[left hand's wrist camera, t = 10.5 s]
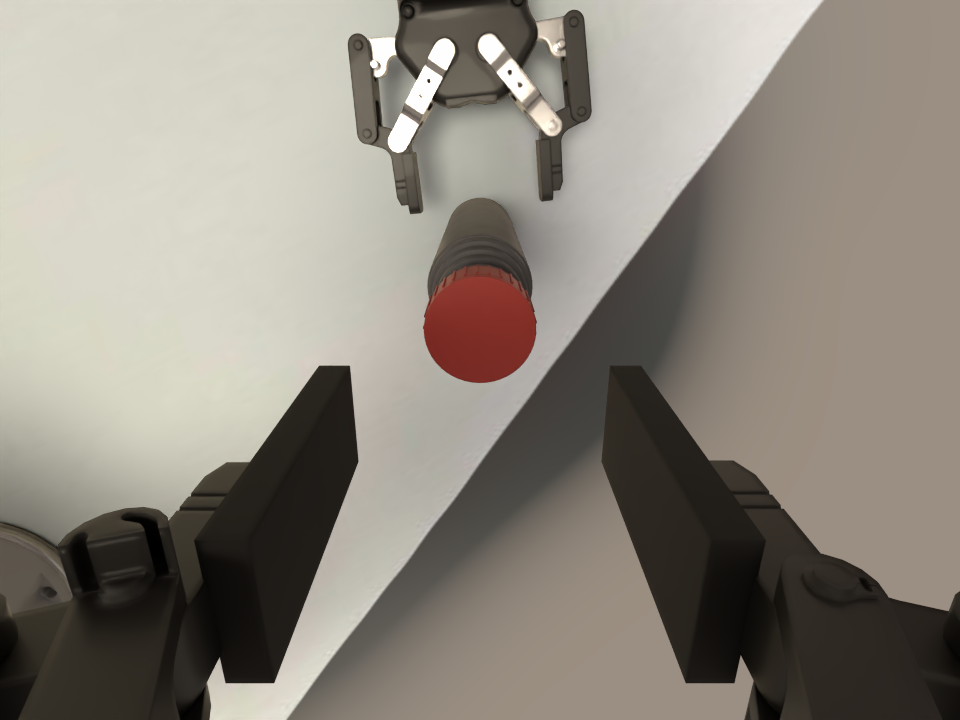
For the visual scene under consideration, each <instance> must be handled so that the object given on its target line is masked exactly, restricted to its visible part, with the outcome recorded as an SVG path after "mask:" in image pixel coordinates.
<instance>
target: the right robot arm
mask: <svg viewBox="0 0 960 720" xmlns="http://www.w3.org/2000/svg"><path fill="white" fill-rule="evenodd" d="M397 2H398V9H399V26H398V31H397V33H396V36H395V37H389V38H366V37H365V36H363V35H362V34H353V35H352V36H351V37H350V38H349V41H348V51H349V60H350V70H351V79H352V88H353V98H354V107H355V117H356V126H357V135H358V138H359V140H360V141H361V142H362V143H364V144H369V145H373V146H377V147H380V148H383V149H385V150H387V151H388V152H389V154H390V155H391V158H392V165H393V171H394V178H395V185H396V192H397V198H398V200H399V202H400V204H401V205H409V211H410V214H417V213H422V211H423V202H422V195H421V187H420V179H419V172H418V164H417V156H416V152H412V144H413V142H414V140H415V138H416V137H417V135H418V133H419V131H420V129H421V127H422V125H423V124H424V122H425V121H426V119H427V118H428V116H429V114H430V112H431V110H432V108H433V106H434V105H435V103H437V104H439V105H441V106H444V107H447V108H457V107H462V106H464V105H466V104H469V103H471V102H474V103H479V104H494V103H497V102H498V101H500V100H502V99H503V98H505V97H506V96H507V95H508V96H509V97H510V98H511V99H512V100H513V102H514V103H515V104H516V105H517V106H518V108H519V109H520V110H521V111H522V112H523V113H524V114H525V115H526V116H527V117H528V119H529V120H530V121H531V122H532V124H533V125H534V126H535V127H536V128H537V130H538V131H539V140H536V151H537V168H538V186H539V198H540V200H541V201H551V200H553V191H555V190H560V188H561V185H562V182H563V175H562V152H561V138H562V136H563V134H564V132H565V131H566V130H568V129H570V128H572V127H573V126H575V125H577V124H579V123H581V122H585V121H587V120H588V119H589V117H590V116H591V112H592V110H591V97H590V85H589V73H588V61H587V48H586V36H585V24H584V17H583V15H582V13H581V12H579V11H578V10H571V11H569V12H568V13H567V14H566V15H565V16H563V17H558V18H552V19H547V20H541V21H536V22H535V20H534V18H533V17H532V15H531V13H530V10H529V7H528V2H527V0H397ZM537 41H540V42H543V43H544V44H545V45H546V46H547V48H548V52H549V54H550V56H551V57H553V58H555V59H560V60H561V70H562V80H563V91H564V101H565V108H563V109H561V110H559V111H557V112H554V110H553V109H552V108H551V107H550V105H549V104H548V103H547V102H546V101H545V99H544V98H543V97H542V95H541V93H540V92H539V90H538V89H537V88H536V86H535V85H534V84H533V83H532V81H531V80H530V79H529V78H528V76H527V75H526V74H525V73H524V71H523V70H522V68H523V67H524V65H525V63H526V61H527V59H528V57H529V56H530V54H531V52H532V50H533V48H534V46H535V44H536V42H537ZM394 57H398V58H399V60H400V61H401V62H402V63H403V65H404V66H405V67H406V68H407V69H408V71H409V72H410V73H411V74H412V75H413V77H414V78H415V79H416V80H417V82H416V83H415V85H414V87H413V89H412V91H411V93H410V95H409V97H408V99H407V101H406V103H405V105H404V107H403V111H402V113H401V115H400V117H399V119H398V121H397V123H396V124H395V126H394V128H393V129H390V128H386V127H383V126H382V115H381V104H380V93H379V82H378V79H379V78H383V77H385V76H386V74H387V73H388V66H389V62H390V61H391V60H392V59H393V58H394Z"/></svg>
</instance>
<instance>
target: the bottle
mask: <svg viewBox="0 0 960 720" xmlns="http://www.w3.org/2000/svg"><path fill="white" fill-rule="evenodd" d="M476 265H478V266H488V265H490V267H493V268H496V269H499V268H501V269H502V271H504V272H506V273H508V274H512V277H513V278H514V279H516V280H517V281H520V282H521V286H522V287H523V289H524V290H527V292H528V296H529V299H530V300H531V295H532V277H531V272H530V269H529V266H528V264H527V261H526V259H525V256H524V253H523V251H522V248H521V246H520V243H519V241H518V238H517V236H516V233H515V230H514V228H513V225H512V223H511V220H510V218H509V216H508V214H507V212H506V211H505V210H504V208H503V207H501V206H500V205H499V204H498V203H496V202H494V201H492V200H489V199H485V198H475V199H471V200H468V201H466V202H464V203H462V204H461V205H460V206H459V207H457V208H456V210H455V211H454V212H453V214H452V216H451V218H450V220H449V223H448V225H447V228H446V230H445V233H444V236H443V238H442V241H441V243H440V246H439V248H438V251H437V254H436V256H435V259H434V261H433V264H432V266H431V269H430V272H429V277H428V295H429V299H430V296H431V295H433V294H434V292H435V288H436V286H437V285H438V286H439V285H440V284H441V282H442V281H443V279H444V277H446V278H447V277H448V276H449V275H451V274H453V271H458V270H461V269H464V267H465V266H467V267H472V266H476Z"/></svg>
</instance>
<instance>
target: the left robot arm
mask: <svg viewBox="0 0 960 720" xmlns="http://www.w3.org/2000/svg"><path fill="white" fill-rule="evenodd" d="M357 464H358V452H357V440H356V429H355V418H354V407H353V395H352V384H351V373H350V366H319V367H318V368H317V370H316V371H315V372H314V374H313V375H312V377H311V378H310V379H309V381H308V382H307V383H306V385H305V386H304V388H303V389H302V390H301V392H300V393H299V395H298V396H297V397H296V399H295V400H294V402H293V403H292V404H291V406H290V407H289V409H288V410H287V411H286V413H285V414H284V415H283V417H282V418H281V420H280V421H279V422H278V424H277V425H276V427H275V428H274V429H273V431H272V432H271V434H270V435H269V436H268V438H267V439H266V441H265V442H264V443H263V445H262V446H261V448H260V449H259V450H258V452H257V453H256V454H255V456H254V457H253V459H252V460H251V461H250V462H227V463H225V464H224V465H222V466H221V467H219V468H218V469H216V470H214V471H213V472H211V473H210V474H208V475H207V476H205V477H204V478H203V480H202V481H201V482H200V483H199V484H198V486H197V487H196V488H195V489H194V491H193V492H192V493H191V497H188V498H187V499H186V500H185V501H184V503H183V504H182V505H181V506H180V510H179V511H176V512H175V514H174V515H173V516H172V517H171V519H170V520H169V521H168V518H167V516H166V515H164V514H163V513H162V512H161V511H159V510H156V509H151V508H146V507H139V508H126V509H121V510H118V511H114V512H110V513H106V514H103V515H101V516H99V517H96V518H94V519H92V520H90V521H87V522H85V523H83V524H82V525H80V526H79V527H77V528H76V529H74V530H73V531H71V532H70V533H69V534H67V535H66V536H65V538H64V539H63V540H62V541H61V542H60V543H59V545H58V546H57V549H56V548H54V547H53V546H52V545H50V544H49V543H47V542H46V541H44V540H43V539H41V538H39V537H38V536H36V535H34V534H32V533H30V532H27V531H25V530H22V529H20V528H17V527H14V526H10V525H6V524H1V523H0V720H209V719H210V710H211V702H210V695H209V690H208V686H207V681H208V679H209V677H210V675H211V673H212V671H213V669H214V667H215V665H216V663H217V661H218V659H219V657H220V660H221V664H222V669H223V674H224V678H225V683H274V682H275V680H276V677H277V674H278V672H279V669H280V666H281V664H282V661H283V659H284V656H285V653H286V651H287V648H288V645H289V643H290V640H291V638H292V635H293V632H294V630H295V627H296V624H297V622H298V619H299V617H300V614H301V611H302V609H303V606H304V603H305V601H306V598H307V595H308V593H309V590H310V588H311V585H312V582H313V580H314V577H315V574H316V572H317V569H318V567H319V564H320V561H321V559H322V556H323V553H324V551H325V548H326V546H327V543H328V540H329V538H330V535H331V532H332V530H333V527H334V524H335V522H336V519H337V517H338V514H339V511H340V509H341V506H342V503H343V501H344V498H345V496H346V493H347V490H348V488H349V485H350V482H351V480H352V477H353V475H354V472H355V469H356V467H357ZM602 464H603V467H604V469H605V472H606V475H607V477H608V480H609V482H610V485H611V488H612V490H613V493H614V496H615V498H616V501H617V503H618V506H619V509H620V511H621V514H622V517H623V519H624V522H625V524H626V527H627V530H628V532H629V535H630V537H631V540H632V543H633V545H634V548H635V551H636V553H637V556H638V559H639V561H640V564H641V567H642V569H643V572H644V574H645V577H646V580H647V582H648V585H649V588H650V590H651V593H652V595H653V598H654V601H655V603H656V606H657V609H658V611H659V614H660V617H661V619H662V622H663V624H664V627H665V630H666V632H667V635H668V638H669V640H670V643H671V645H672V648H673V651H674V653H675V656H676V659H677V661H678V664H679V666H680V669H681V672H682V674H683V677H684V680H685V682H686V683H735V678H736V673H737V669H738V664H739V660H740V655H741V656H742V658H743V660H744V662H745V664H746V666H747V668H748V670H749V672H750V674H751V676H752V678H753V680H754V682H753V686H752V690H751V694H750V698H749V703H748V707H747V711H746V715H745V719H744V720H960V592H958V593H957V594H955V596H954V599H953V602H952V604H951V607H950V609H949V611H944V610H940V609H935V608H931V607H926V606H922V605H917V604H913V603H908V602H903V601H899V600H895V599H892V598H888V596H887V594H886V593H885V591H884V590H883V589H882V587H881V586H880V584H879V583H878V582H877V581H876V580H874V579H873V578H872V577H871V576H869V575H868V574H867V573H866V572H864V571H863V570H862V569H860V568H858V567H856V566H854V565H852V564H850V563H848V562H846V561H844V560H841V559H838V558H834V557H831V556H828V555H824V554H821V553H820V552H819V551H818V550H817V549H816V547H815V546H814V545H813V544H812V543H811V541H810V540H809V539H808V538H807V536H806V535H805V534H804V533H803V532H802V530H801V529H800V528H799V527H798V526H797V524H796V523H795V522H794V521H793V520H792V518H791V517H790V516H789V515H788V514H787V512H786V511H785V510H784V509H781V505H780V504H779V503H778V501H777V500H776V499H775V498H774V497H773V495H770V494H769V491H768V489H767V488H766V487H765V486H764V485H763V483H762V482H761V481H760V480H759V478H758V477H757V476H756V475H755V474H753V473H752V472H750V471H749V470H747V469H746V468H744V467H743V466H741V465H739V464H738V463H736V462H735V461H709V460H708V459H707V457H706V456H705V454H704V453H703V452H702V450H701V449H700V448H699V446H698V445H697V443H696V442H695V441H694V439H693V438H692V436H691V435H690V434H689V432H688V431H687V429H686V428H685V427H684V425H683V424H682V422H681V421H680V420H679V418H678V417H677V415H676V414H675V413H674V411H673V410H672V409H671V407H670V406H669V404H668V403H667V402H666V400H665V399H664V397H663V396H662V395H661V393H660V392H659V390H658V389H657V388H656V386H655V385H654V383H653V382H652V381H651V379H650V378H649V377H648V375H647V374H646V372H645V371H644V370H643V368H642V367H641V366H610V373H609V384H608V395H607V407H606V418H605V429H604V440H603V452H602Z"/></svg>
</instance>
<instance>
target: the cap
mask: <svg viewBox="0 0 960 720" xmlns="http://www.w3.org/2000/svg"><path fill="white" fill-rule="evenodd" d="M534 312H535V311H534V308H533V305H532V302H531V300H530V299H529V296H528V292H527V290H524V289H523V287H522V286H521V282H520V281H517V280H516V279H514V278H513V277H512V274H508V273H506V272H504V271H502V269H501V268H499V269H496V268H493V267H490V265H488V266H478V265H476V266H472V267H467V266H465V267H464V269H461V270H458V271H453V274H451V275H449V276H448V277H447V278H446V277H444V279H443V281H442V282H441V284H440V285H439V286H438V285H437V286H436V288H435V292H434V294H433V295H431V296H430V299H429V302H428V306H427V309H426V312H425V315H424V317H425V322H424V326H423V329H424V337H425V342H426V345H427V348H428V351H429V353H430V354H431V356H432V358H433V359H434V361H435V362H436V363H437V364H438V365H439V366H440V367H441V368H442V369H443V370H444V371H446V372H447V373H448V374H450V375H452V376H454V377H456V378H458V379H461V380H464V381H468V382H474V383H487V382H492V381H496V380H500V379H502V378H504V377H507V376H508V375H510V374H512V373H513V372H514V371H516V370H517V369H518V368H519V367H520V366H521V365H522V364H523V363H524V362H525V361H526V359H527V358H528V356H529V354H530V353H531V350H532V348H533V346H534V342H535V337H536V323H537V321H536V318H535V315H534Z"/></svg>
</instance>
